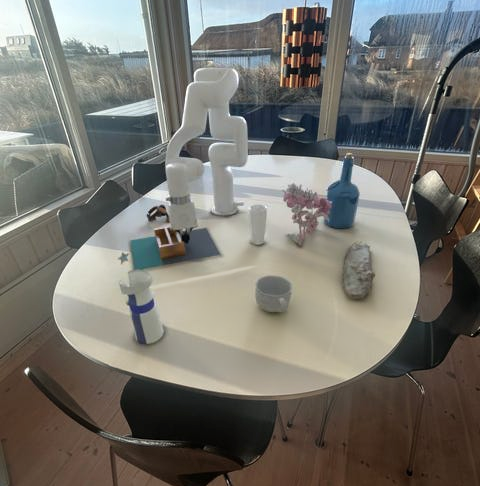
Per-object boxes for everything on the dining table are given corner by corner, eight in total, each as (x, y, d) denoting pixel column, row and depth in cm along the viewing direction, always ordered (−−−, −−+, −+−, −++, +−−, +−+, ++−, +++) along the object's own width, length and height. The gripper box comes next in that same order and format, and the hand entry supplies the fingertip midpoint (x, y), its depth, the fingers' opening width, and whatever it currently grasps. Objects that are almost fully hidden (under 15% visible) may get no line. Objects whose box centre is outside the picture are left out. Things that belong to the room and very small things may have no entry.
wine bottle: (355, 219, 147) (369, 151, 130) (351, 231, 137) (365, 159, 120) (325, 214, 152) (335, 148, 135) (319, 226, 142) (328, 156, 125)
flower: (346, 244, 125) (345, 178, 121) (293, 249, 119) (291, 179, 115) (319, 242, 144) (317, 185, 140) (272, 246, 138) (269, 186, 134)
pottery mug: (170, 226, 146) (158, 213, 140) (154, 233, 150) (141, 221, 144) (175, 209, 154) (164, 197, 148) (159, 216, 157) (148, 204, 152)
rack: (177, 236, 135) (176, 225, 132) (185, 255, 123) (183, 242, 120) (156, 240, 133) (154, 228, 130) (161, 260, 121) (159, 247, 117)
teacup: (253, 295, 103) (253, 275, 98) (286, 293, 103) (288, 272, 99) (259, 326, 91) (259, 304, 87) (296, 323, 92) (299, 301, 88)
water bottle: (126, 341, 88) (102, 264, 74) (145, 320, 94) (125, 246, 80) (152, 348, 85) (132, 271, 71) (169, 327, 92) (154, 252, 78)
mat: (206, 229, 142) (206, 227, 142) (220, 255, 123) (220, 254, 123) (131, 241, 134) (130, 240, 134) (134, 272, 115) (134, 270, 115)
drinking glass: (267, 239, 133) (268, 205, 125) (263, 247, 128) (264, 212, 119) (252, 237, 135) (252, 203, 126) (247, 245, 130) (246, 210, 121)
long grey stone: (372, 252, 125) (345, 249, 128) (374, 239, 123) (347, 237, 126) (373, 304, 97) (339, 299, 100) (376, 289, 95) (340, 284, 98)
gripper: (161, 205, 114) (168, 250, 124) (202, 199, 117) (206, 243, 128) (158, 197, 119) (166, 241, 130) (197, 192, 123) (202, 234, 134)
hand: (186, 242), depth 129 cm, fingers closed
